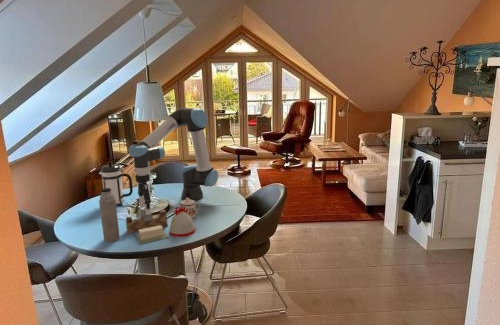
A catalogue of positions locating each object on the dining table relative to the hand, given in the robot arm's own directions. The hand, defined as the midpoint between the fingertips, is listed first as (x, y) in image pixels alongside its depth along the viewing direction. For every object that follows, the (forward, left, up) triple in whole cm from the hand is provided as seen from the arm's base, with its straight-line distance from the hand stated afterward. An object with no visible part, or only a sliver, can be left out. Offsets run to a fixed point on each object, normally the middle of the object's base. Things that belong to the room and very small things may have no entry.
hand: (145, 210), depth 209 cm
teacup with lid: (-28, -5, -11) cm, 31 cm away
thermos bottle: (+20, +4, -11) cm, 23 cm away
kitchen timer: (-16, +15, -11) cm, 25 cm away
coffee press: (+8, -53, -11) cm, 55 cm away
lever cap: (0, 0, -5) cm, 5 cm away
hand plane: (0, 0, -11) cm, 11 cm away
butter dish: (+1, +13, -11) cm, 17 cm away
